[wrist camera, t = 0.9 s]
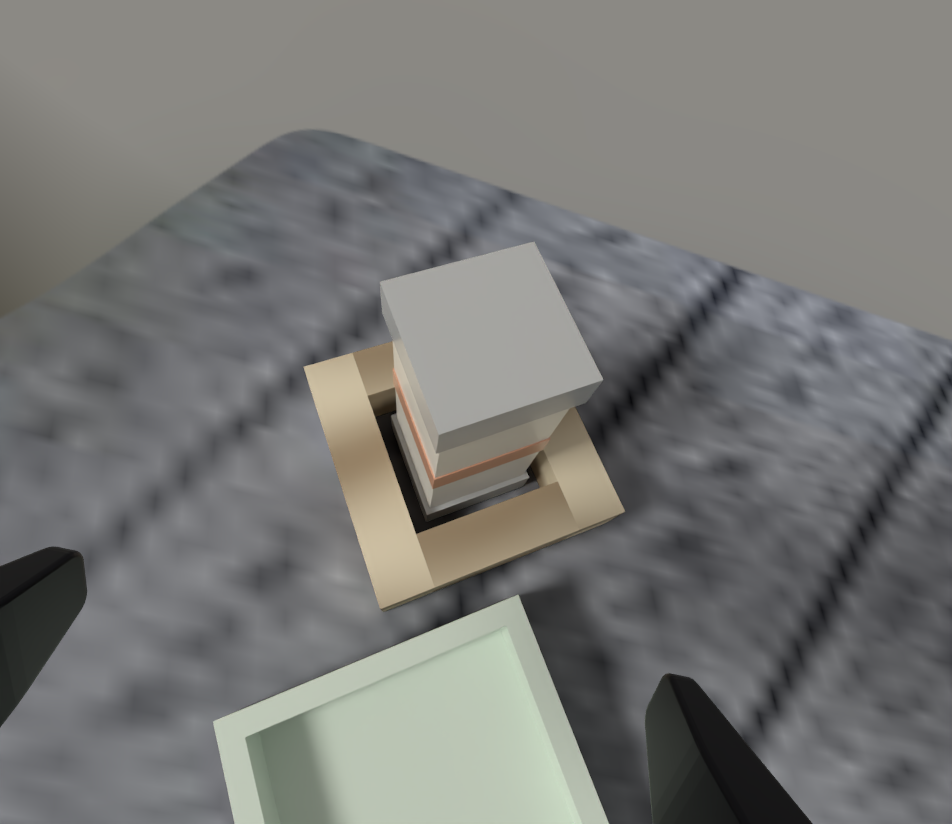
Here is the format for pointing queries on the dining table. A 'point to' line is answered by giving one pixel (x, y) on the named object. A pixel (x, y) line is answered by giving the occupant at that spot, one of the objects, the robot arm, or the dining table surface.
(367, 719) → the tray
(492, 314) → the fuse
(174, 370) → the dining table surface
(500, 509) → the collar block
